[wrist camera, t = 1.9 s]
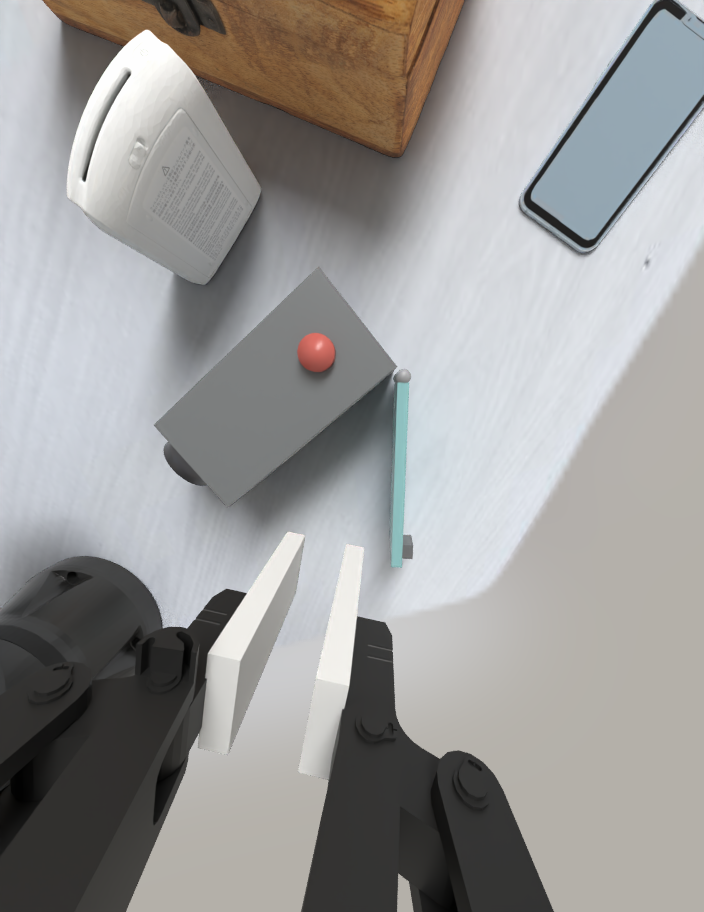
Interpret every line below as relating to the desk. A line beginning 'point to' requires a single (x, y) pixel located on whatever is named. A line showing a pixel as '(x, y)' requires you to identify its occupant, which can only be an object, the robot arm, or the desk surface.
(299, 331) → the camera body
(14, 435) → the desk surface
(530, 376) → the desk surface
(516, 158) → the desk surface
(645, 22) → the smartphone
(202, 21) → the wooden box
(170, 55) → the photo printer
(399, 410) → the side door
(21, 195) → the desk surface
